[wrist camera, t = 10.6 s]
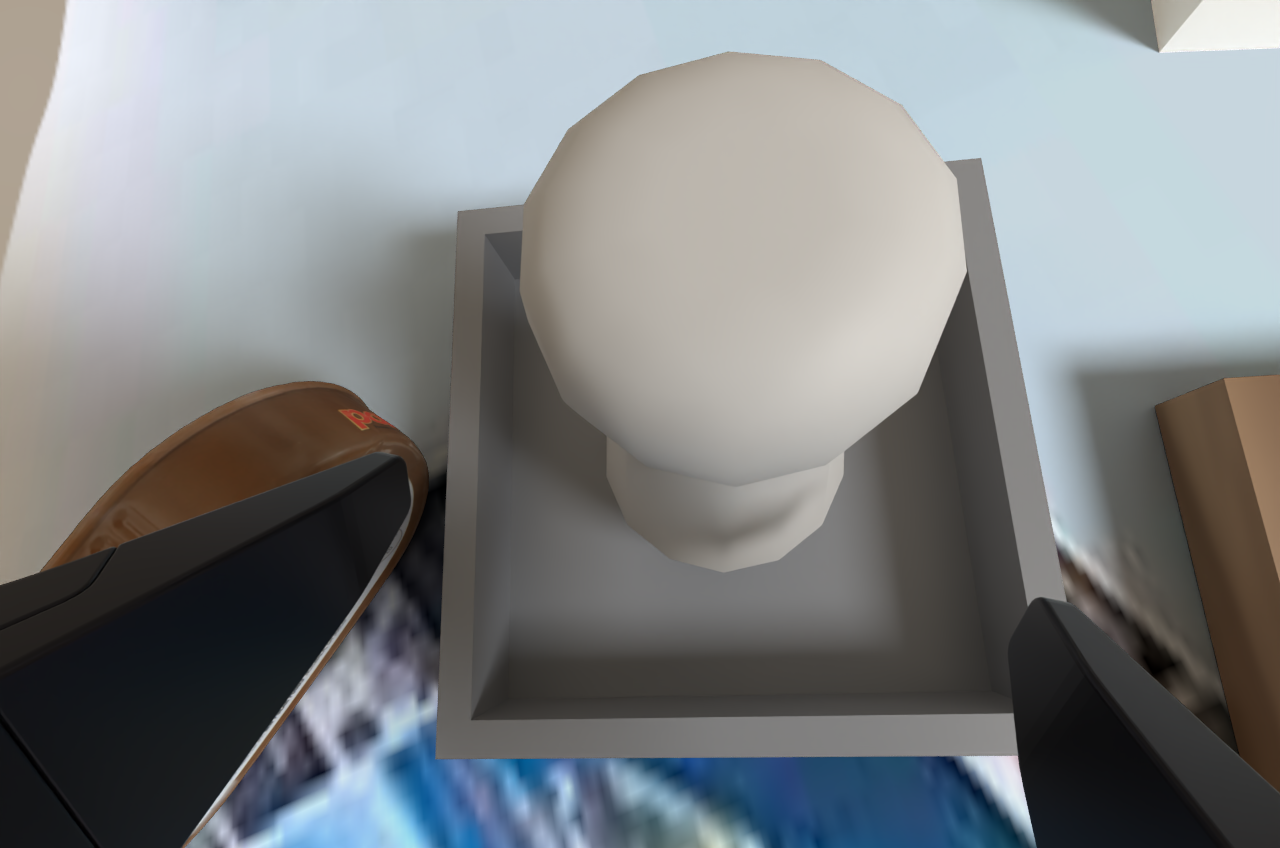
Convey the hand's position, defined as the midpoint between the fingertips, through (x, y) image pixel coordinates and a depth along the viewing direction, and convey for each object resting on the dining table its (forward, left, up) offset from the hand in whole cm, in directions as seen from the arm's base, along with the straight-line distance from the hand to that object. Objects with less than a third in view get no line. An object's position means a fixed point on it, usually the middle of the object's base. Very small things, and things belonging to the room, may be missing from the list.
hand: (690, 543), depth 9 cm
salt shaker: (+1, +3, -9) cm, 9 cm away
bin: (+1, +3, -9) cm, 10 cm away
